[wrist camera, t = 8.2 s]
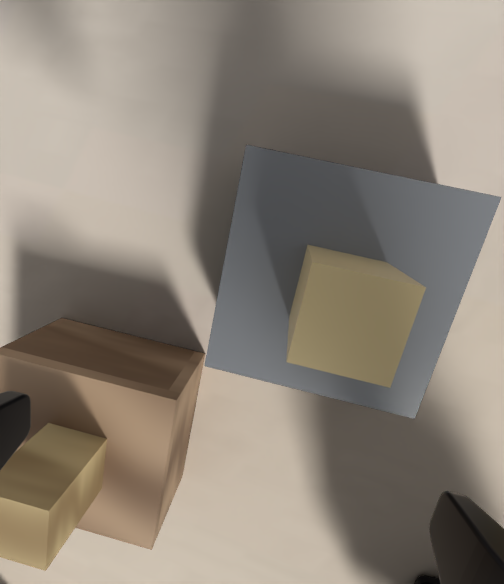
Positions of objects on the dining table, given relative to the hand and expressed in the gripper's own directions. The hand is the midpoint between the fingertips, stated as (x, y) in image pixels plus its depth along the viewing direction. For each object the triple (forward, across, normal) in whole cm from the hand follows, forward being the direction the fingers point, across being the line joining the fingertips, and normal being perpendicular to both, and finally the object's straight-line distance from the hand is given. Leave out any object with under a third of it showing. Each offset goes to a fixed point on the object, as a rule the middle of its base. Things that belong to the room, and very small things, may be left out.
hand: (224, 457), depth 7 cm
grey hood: (+12, -3, -2) cm, 13 cm away
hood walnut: (+12, +8, +8) cm, 16 cm away
